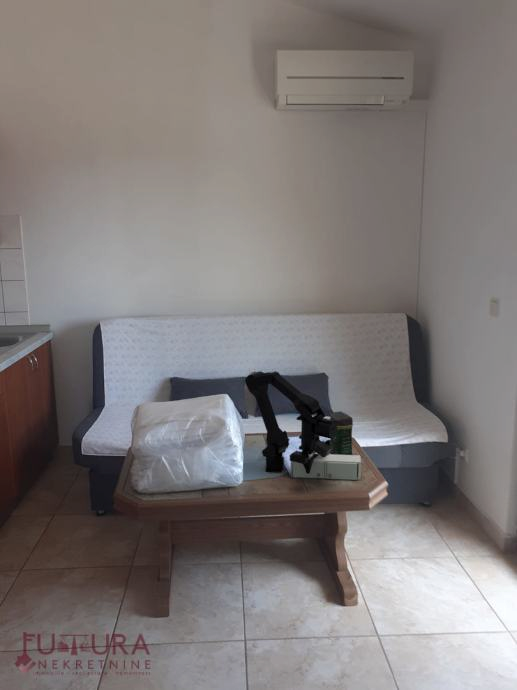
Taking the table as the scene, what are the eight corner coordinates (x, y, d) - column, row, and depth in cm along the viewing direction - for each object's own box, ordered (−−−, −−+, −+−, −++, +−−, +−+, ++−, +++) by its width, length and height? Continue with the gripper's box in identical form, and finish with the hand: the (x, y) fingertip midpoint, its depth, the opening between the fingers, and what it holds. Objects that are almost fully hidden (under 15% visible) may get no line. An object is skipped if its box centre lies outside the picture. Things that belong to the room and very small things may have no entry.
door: (290, 478, 209) (290, 462, 208) (290, 476, 211) (290, 459, 210) (323, 479, 208) (324, 463, 206) (323, 477, 210) (324, 460, 208)
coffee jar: (355, 459, 225) (356, 416, 221) (337, 462, 222) (338, 419, 218) (343, 450, 234) (344, 408, 230) (326, 453, 231) (327, 411, 227)
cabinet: (290, 479, 209) (290, 461, 208) (292, 469, 217) (292, 452, 216) (360, 482, 206) (361, 464, 204) (359, 472, 214) (360, 455, 212)
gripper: (317, 444, 192) (316, 487, 195) (339, 430, 207) (338, 469, 210) (289, 438, 198) (288, 479, 201) (313, 425, 213) (312, 463, 216)
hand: (308, 473), depth 207 cm, fingers closed
